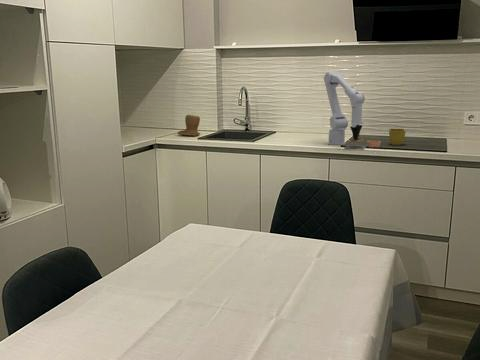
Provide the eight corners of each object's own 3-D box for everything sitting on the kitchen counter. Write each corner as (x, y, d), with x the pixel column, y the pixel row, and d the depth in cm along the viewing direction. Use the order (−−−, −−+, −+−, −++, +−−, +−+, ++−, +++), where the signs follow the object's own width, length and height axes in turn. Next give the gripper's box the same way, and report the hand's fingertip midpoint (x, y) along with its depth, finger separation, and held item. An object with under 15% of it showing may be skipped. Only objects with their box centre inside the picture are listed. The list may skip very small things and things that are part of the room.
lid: (347, 141, 280) (347, 134, 280) (349, 139, 288) (349, 132, 287) (362, 141, 277) (362, 135, 276) (364, 139, 285) (364, 133, 284)
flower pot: (404, 145, 286) (405, 130, 284) (389, 145, 288) (390, 130, 286) (403, 143, 295) (403, 128, 293) (388, 143, 297) (388, 128, 294)
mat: (344, 148, 281) (344, 147, 281) (348, 145, 291) (348, 145, 291) (363, 149, 277) (363, 149, 277) (366, 146, 286) (366, 145, 286)
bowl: (365, 147, 285) (366, 142, 284) (368, 145, 292) (368, 140, 291) (379, 147, 282) (379, 142, 281) (381, 145, 288) (381, 140, 288)
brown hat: (204, 135, 347) (203, 114, 344) (194, 137, 337) (193, 115, 334) (186, 134, 355) (186, 113, 351) (177, 136, 345) (175, 115, 341)
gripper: (361, 116, 271) (360, 140, 274) (366, 113, 284) (365, 136, 287) (348, 116, 274) (347, 139, 277) (354, 113, 287) (353, 136, 290)
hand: (355, 138), depth 283 cm, fingers closed on lid, 3 cm apart
